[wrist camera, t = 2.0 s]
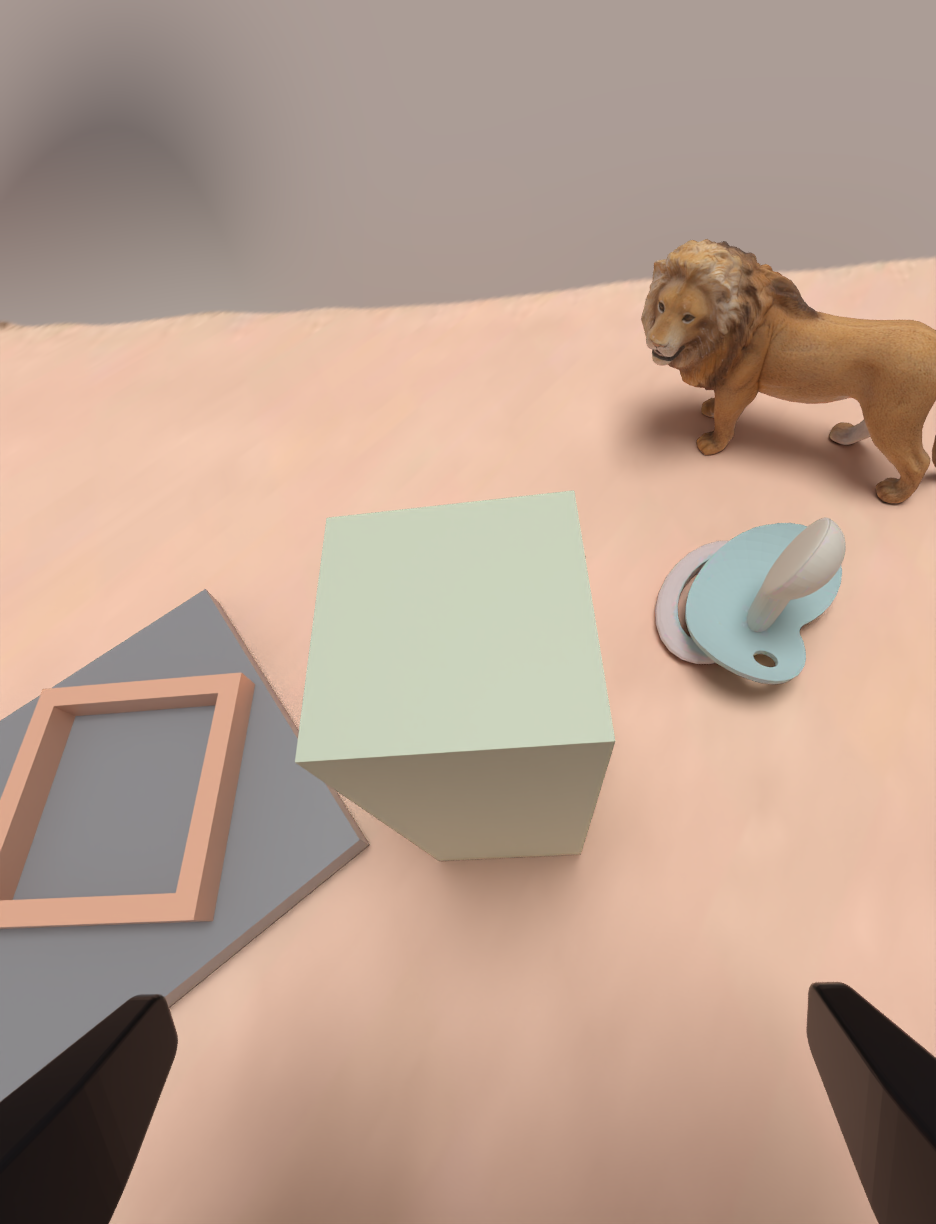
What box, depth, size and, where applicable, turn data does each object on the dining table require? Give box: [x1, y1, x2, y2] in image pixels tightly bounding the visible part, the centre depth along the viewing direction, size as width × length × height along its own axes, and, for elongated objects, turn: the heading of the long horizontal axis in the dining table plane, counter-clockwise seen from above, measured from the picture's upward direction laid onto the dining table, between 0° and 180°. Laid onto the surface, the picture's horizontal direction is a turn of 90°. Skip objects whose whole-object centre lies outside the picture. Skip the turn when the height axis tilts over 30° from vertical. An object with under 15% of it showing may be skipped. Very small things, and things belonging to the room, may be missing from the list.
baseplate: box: [0, 589, 369, 1101], centre depth 21 cm, size 20×14×2 cm
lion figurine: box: [641, 239, 936, 503], centre depth 24 cm, size 15×5×9 cm, turn 68°
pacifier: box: [655, 518, 846, 684], centre depth 21 cm, size 7×6×6 cm
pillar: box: [295, 491, 615, 861], centre depth 15 cm, size 5×5×13 cm
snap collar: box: [0, 673, 255, 929], centre depth 21 cm, size 9×9×1 cm
